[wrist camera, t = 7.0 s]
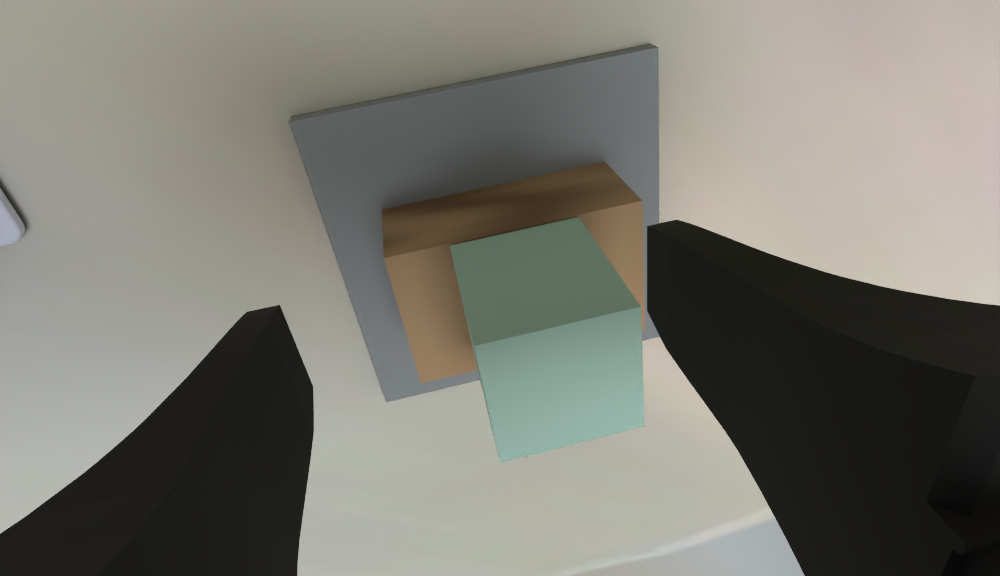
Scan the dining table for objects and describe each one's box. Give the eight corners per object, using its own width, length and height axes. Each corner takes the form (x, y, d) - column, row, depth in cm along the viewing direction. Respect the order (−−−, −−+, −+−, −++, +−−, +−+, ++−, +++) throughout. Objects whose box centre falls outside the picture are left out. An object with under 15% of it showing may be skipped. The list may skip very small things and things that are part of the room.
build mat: (385, 392, 26) (386, 402, 25) (291, 116, 19) (289, 122, 19) (654, 328, 27) (659, 336, 26) (650, 43, 20) (658, 47, 20)
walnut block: (414, 325, 23) (420, 383, 21) (381, 209, 21) (383, 258, 18) (611, 279, 24) (645, 329, 21) (604, 161, 21) (642, 200, 18)
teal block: (472, 348, 20) (500, 462, 16) (449, 245, 18) (474, 346, 14) (587, 321, 20) (644, 426, 16) (578, 217, 18) (640, 306, 14)
